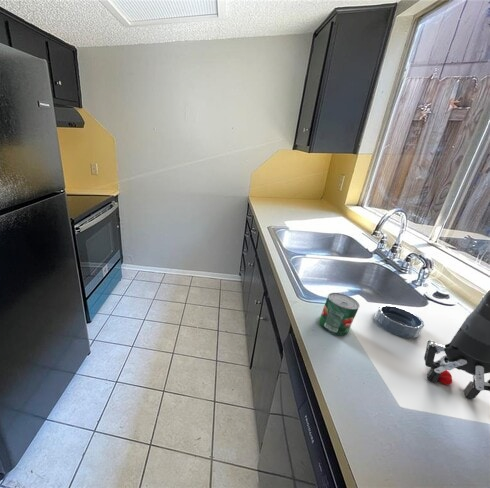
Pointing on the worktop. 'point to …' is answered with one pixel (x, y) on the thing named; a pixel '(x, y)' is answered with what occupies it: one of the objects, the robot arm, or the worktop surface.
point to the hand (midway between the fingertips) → (447, 388)
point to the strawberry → (445, 378)
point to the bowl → (401, 315)
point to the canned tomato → (338, 313)
